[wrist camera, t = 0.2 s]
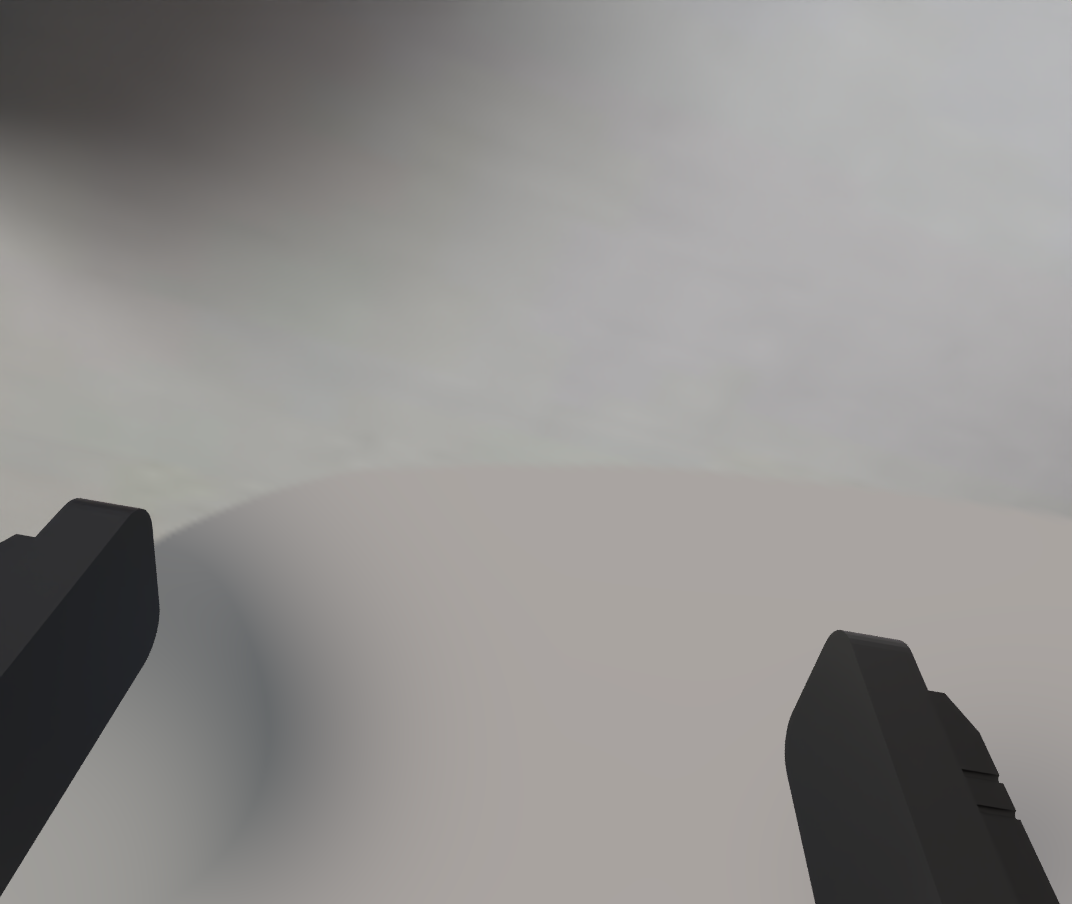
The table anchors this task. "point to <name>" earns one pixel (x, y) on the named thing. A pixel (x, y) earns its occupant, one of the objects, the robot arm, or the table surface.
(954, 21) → the table surface
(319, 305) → the table surface
